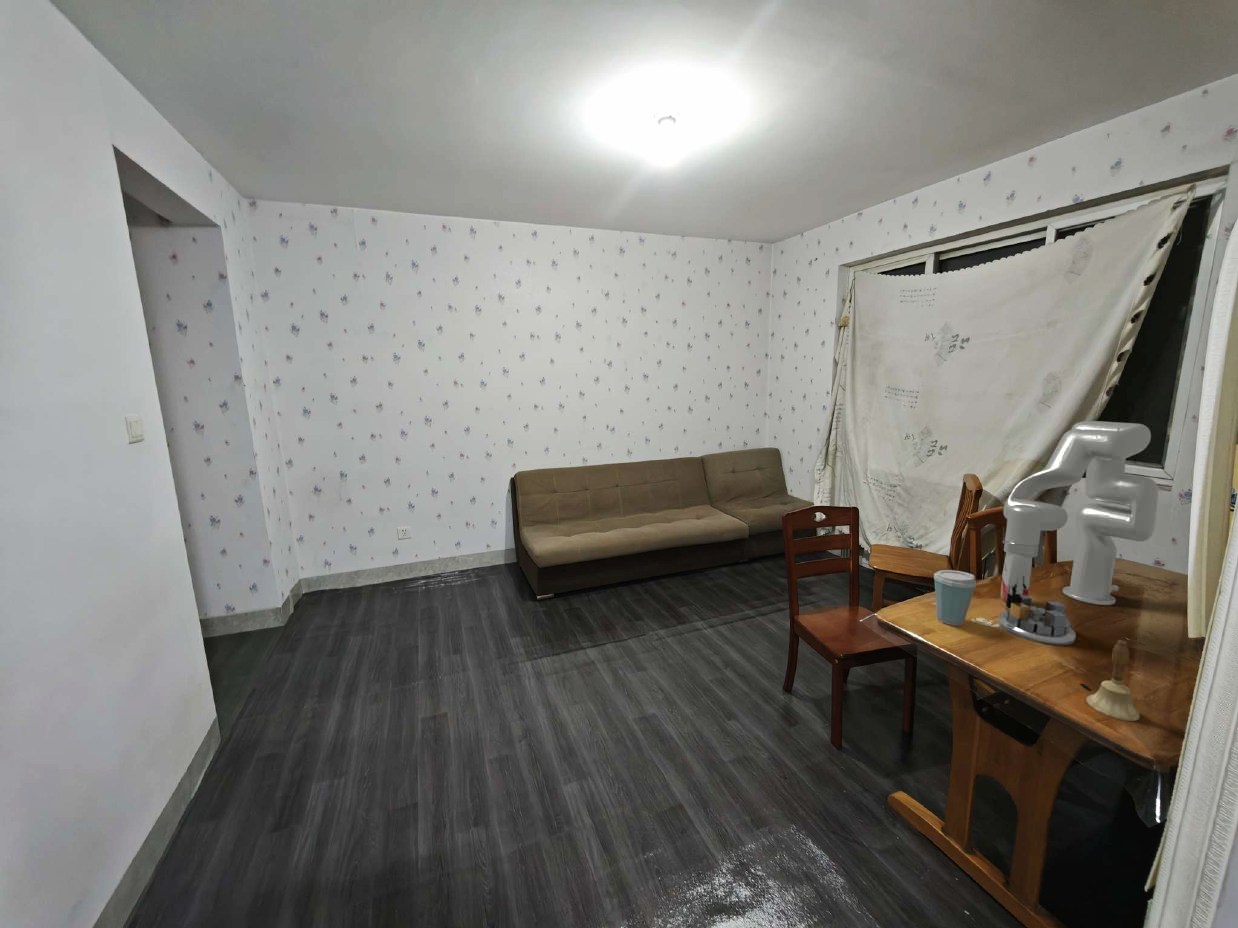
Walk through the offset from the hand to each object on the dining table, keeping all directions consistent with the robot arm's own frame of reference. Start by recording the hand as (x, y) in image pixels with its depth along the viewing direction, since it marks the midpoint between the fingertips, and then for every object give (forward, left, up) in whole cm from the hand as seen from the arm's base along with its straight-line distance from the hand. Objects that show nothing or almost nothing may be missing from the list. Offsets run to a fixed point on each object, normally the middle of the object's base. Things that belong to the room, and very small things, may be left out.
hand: (1013, 607), depth 142 cm
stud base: (-4, +4, -5) cm, 8 cm away
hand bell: (+15, +35, -6) cm, 38 cm away
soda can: (-16, -12, -6) cm, 21 cm away
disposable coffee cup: (+15, -6, -6) cm, 17 cm away
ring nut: (-4, +4, -4) cm, 7 cm away
